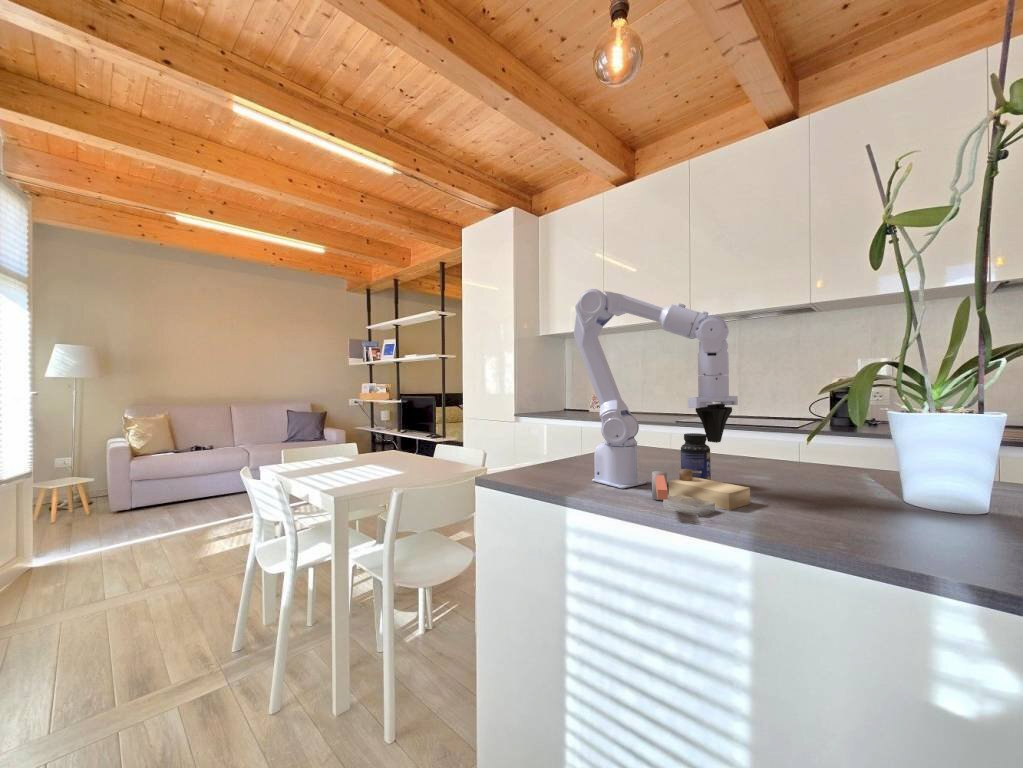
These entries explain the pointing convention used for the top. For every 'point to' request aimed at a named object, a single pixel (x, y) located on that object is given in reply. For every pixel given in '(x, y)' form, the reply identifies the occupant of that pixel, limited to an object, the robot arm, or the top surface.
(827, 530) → the top surface
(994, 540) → the top surface
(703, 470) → the pill bottle
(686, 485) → the body
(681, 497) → the grey slanted block
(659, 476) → the hammer
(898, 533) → the top surface
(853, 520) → the top surface
